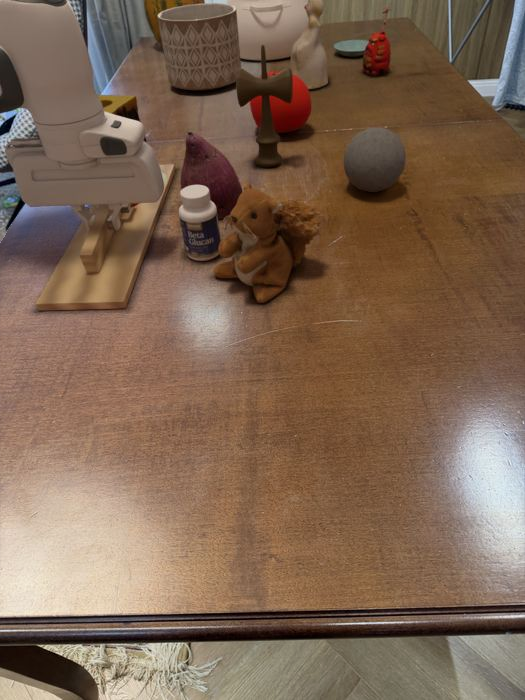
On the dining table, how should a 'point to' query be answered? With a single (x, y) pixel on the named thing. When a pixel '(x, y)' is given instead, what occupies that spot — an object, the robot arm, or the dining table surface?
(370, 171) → the decorative ball
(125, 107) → the spotted cube with hole
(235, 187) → the vegetable
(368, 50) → the red clay folk toy
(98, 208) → the tan wooden bar
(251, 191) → the stuffed squirrel
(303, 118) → the tomato
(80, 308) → the board
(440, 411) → the dining table surface
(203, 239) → the pill bottle
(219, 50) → the planter
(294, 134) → the dining table surface
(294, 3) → the pot
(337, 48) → the saucer
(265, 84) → the kendama
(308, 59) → the figurine
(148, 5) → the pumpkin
